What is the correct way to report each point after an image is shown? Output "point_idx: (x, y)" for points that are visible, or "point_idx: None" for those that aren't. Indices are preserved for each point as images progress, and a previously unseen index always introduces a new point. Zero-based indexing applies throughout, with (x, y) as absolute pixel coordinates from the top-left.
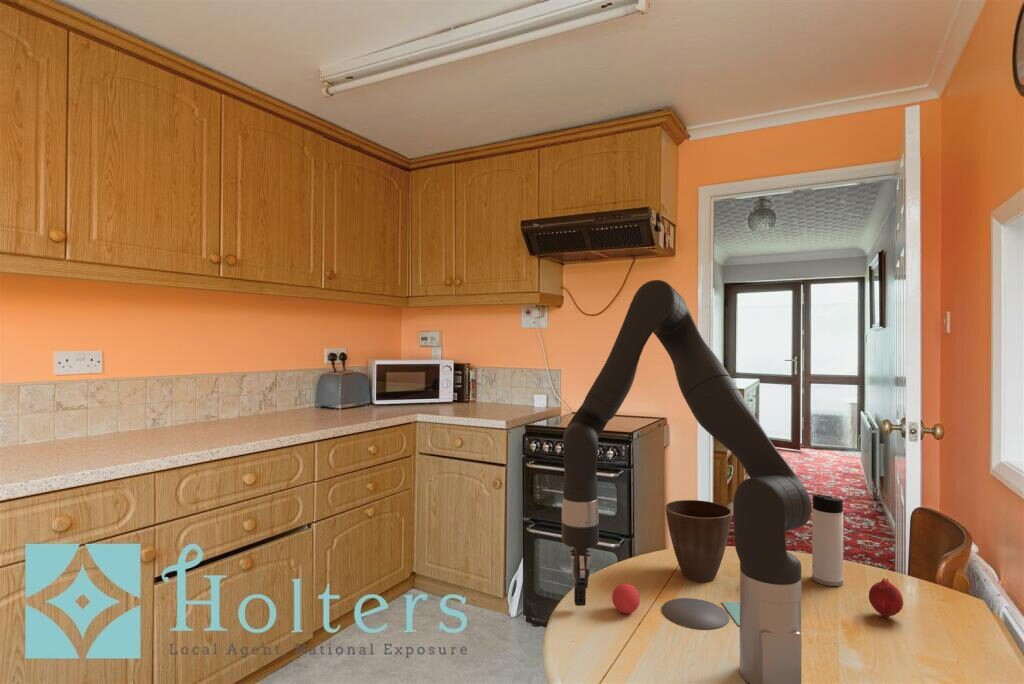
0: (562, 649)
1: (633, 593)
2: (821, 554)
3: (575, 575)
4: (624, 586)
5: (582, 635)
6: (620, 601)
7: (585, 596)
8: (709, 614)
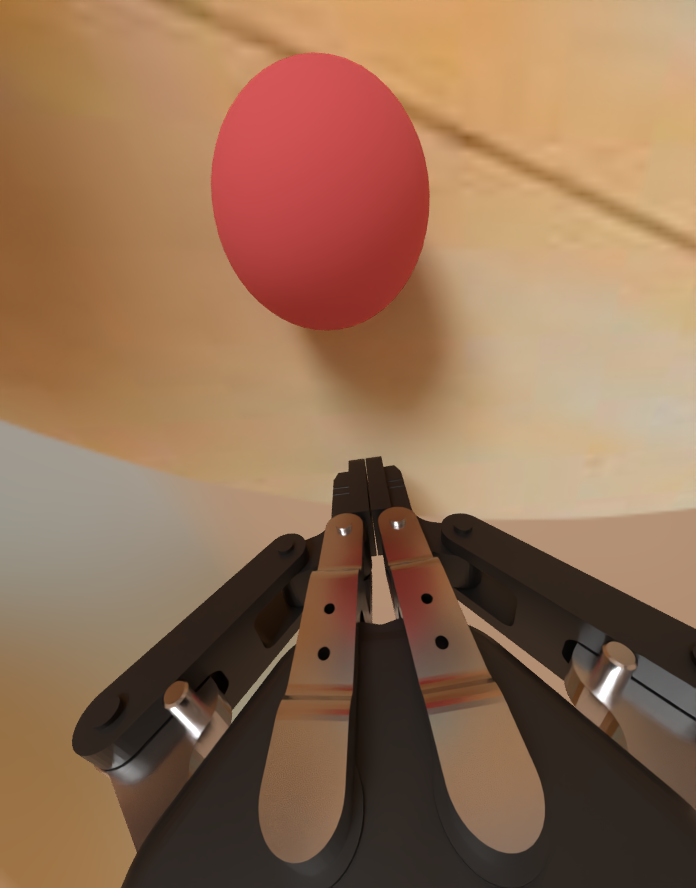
0: (643, 488)
1: (391, 113)
2: None
3: (533, 657)
4: (347, 216)
5: (559, 435)
6: (414, 267)
7: (384, 477)
8: None
